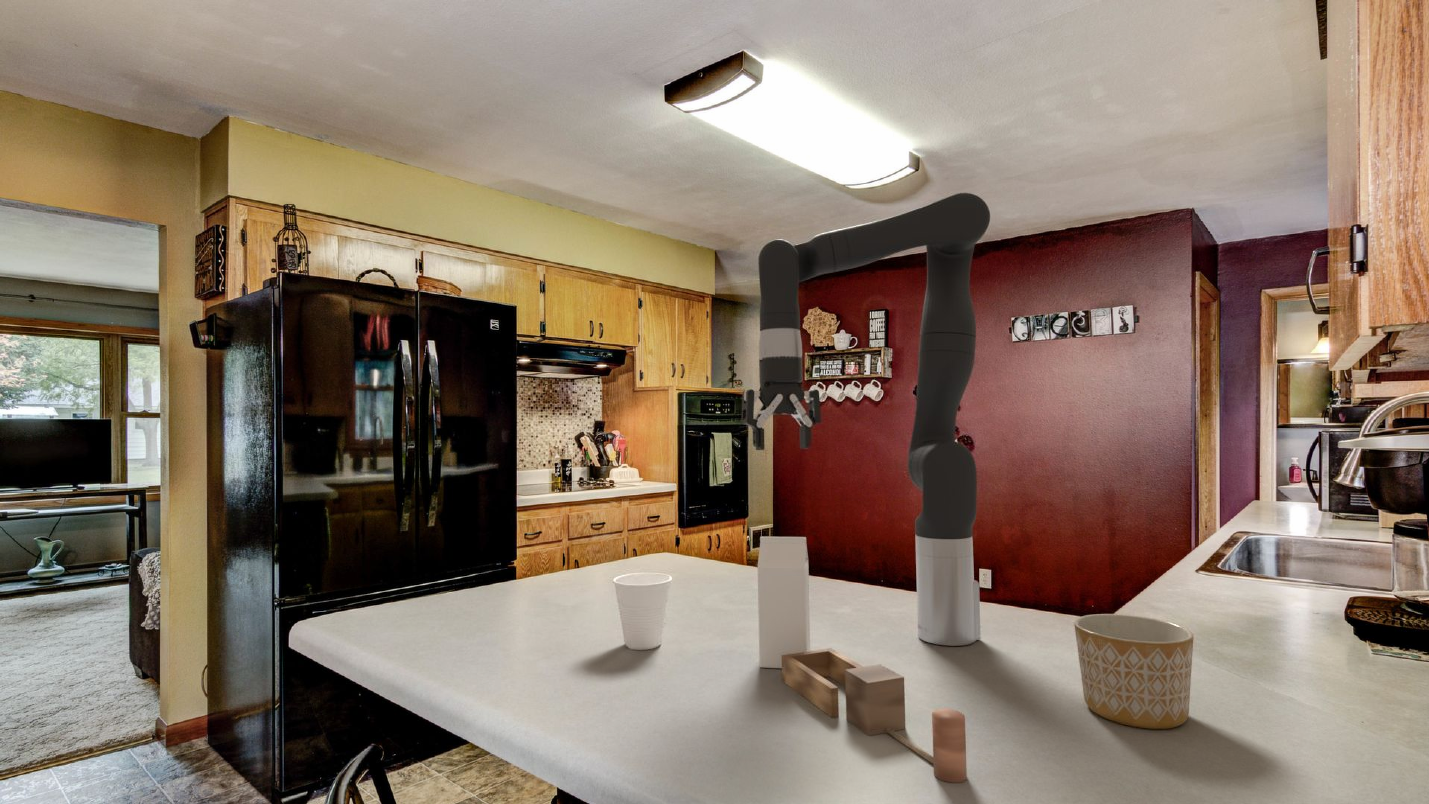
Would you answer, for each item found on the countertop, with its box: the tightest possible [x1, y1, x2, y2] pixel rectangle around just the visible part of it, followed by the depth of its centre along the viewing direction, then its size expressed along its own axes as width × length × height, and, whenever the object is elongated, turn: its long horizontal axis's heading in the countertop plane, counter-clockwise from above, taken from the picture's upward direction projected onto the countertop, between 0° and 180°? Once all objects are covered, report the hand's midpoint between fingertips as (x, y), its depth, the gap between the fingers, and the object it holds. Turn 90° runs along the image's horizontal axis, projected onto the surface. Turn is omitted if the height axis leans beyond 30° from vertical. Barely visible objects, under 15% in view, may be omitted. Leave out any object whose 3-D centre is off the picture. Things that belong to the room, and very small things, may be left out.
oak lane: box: [781, 647, 864, 718], centre depth 94 cm, size 14×8×4 cm, turn 20°
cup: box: [612, 572, 673, 651], centre depth 117 cm, size 10×10×11 cm
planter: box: [1073, 613, 1194, 730], centre depth 86 cm, size 13×13×10 cm
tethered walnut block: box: [845, 663, 968, 784], centre depth 78 cm, size 18×5×6 cm, turn 20°
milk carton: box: [757, 536, 811, 669], centre depth 108 cm, size 7×7×19 cm
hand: (782, 449), depth 122 cm, fingers open, 8 cm apart
